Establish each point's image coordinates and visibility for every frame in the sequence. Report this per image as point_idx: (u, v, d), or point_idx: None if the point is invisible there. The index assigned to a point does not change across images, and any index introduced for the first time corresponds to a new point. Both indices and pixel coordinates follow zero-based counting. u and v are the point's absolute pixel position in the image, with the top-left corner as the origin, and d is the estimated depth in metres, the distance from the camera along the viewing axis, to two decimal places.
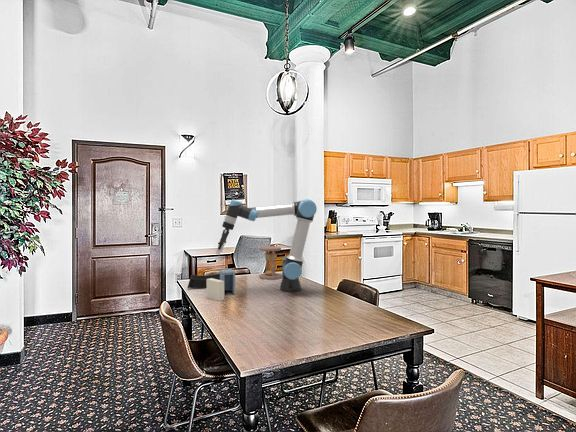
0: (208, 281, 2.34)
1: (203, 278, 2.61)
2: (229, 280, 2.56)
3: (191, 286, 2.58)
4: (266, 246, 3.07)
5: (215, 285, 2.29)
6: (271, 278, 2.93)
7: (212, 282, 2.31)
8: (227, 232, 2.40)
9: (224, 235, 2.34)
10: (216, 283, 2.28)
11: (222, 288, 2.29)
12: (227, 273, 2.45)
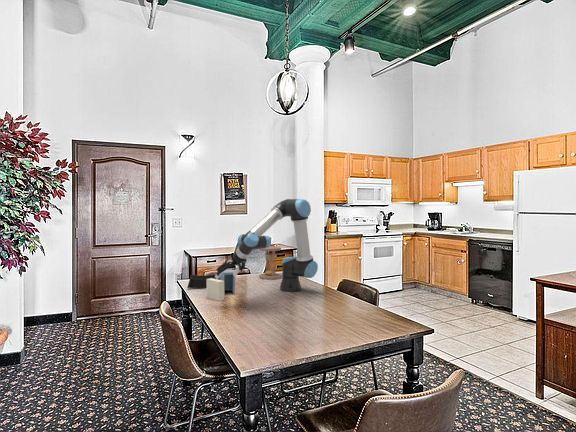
0: (208, 281, 2.34)
1: (203, 278, 2.61)
2: (229, 280, 2.56)
3: (191, 286, 2.58)
4: None
5: (215, 285, 2.29)
6: (271, 278, 2.93)
7: (212, 282, 2.31)
8: None
9: None
10: (216, 283, 2.28)
11: (222, 288, 2.29)
12: (227, 273, 2.45)
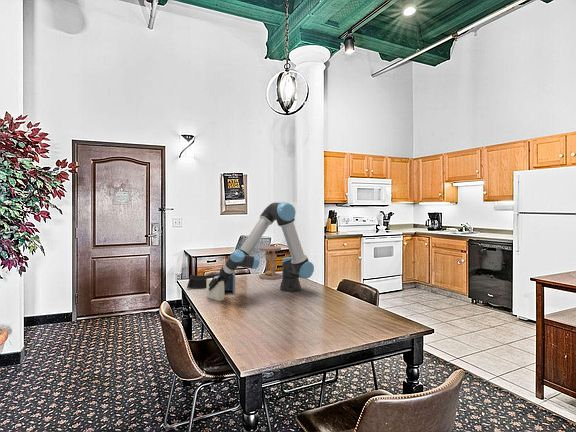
0: (208, 281, 2.34)
1: (203, 278, 2.61)
2: (229, 280, 2.56)
3: (191, 286, 2.58)
4: (266, 246, 3.07)
5: None
6: (271, 278, 2.93)
7: None
8: None
9: None
10: None
11: (222, 288, 2.29)
12: None
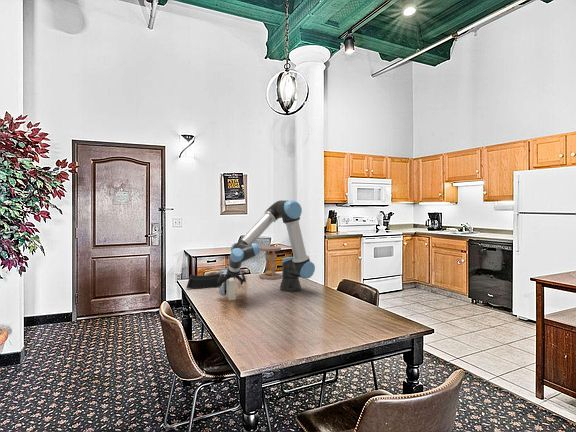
0: None
1: (202, 278, 2.61)
2: None
3: (190, 286, 2.58)
4: (266, 246, 3.07)
5: (228, 284, 2.33)
6: (271, 278, 2.93)
7: (227, 281, 2.35)
8: None
9: None
10: (228, 282, 2.31)
11: (233, 288, 2.30)
12: None
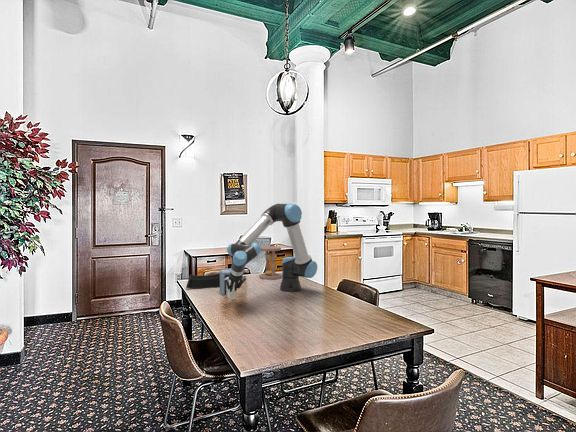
0: None
1: (202, 278, 2.61)
2: None
3: (190, 286, 2.57)
4: (266, 246, 3.07)
5: None
6: (271, 278, 2.93)
7: None
8: None
9: None
10: None
11: None
12: (227, 273, 2.45)
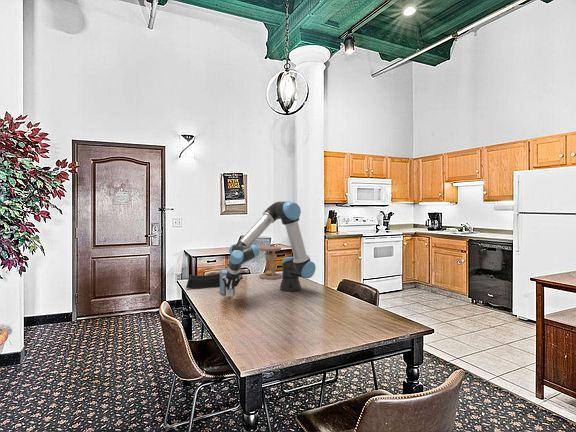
0: None
1: (202, 278, 2.61)
2: None
3: (190, 286, 2.57)
4: (266, 246, 3.07)
5: None
6: (271, 278, 2.93)
7: None
8: None
9: None
10: (226, 279, 2.40)
11: None
12: None
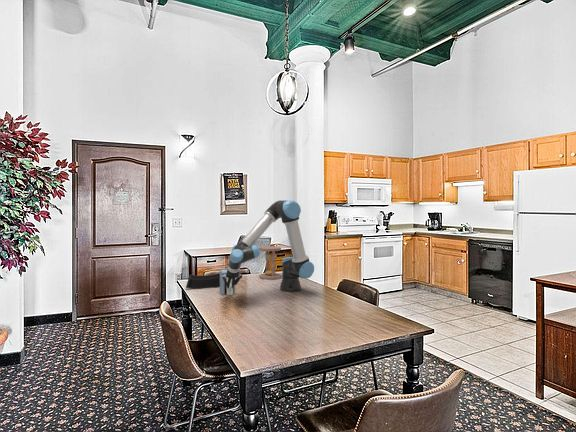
0: None
1: (201, 278, 2.61)
2: None
3: (189, 286, 2.57)
4: (266, 246, 3.07)
5: (226, 280, 2.46)
6: (271, 278, 2.93)
7: None
8: None
9: None
10: (226, 278, 2.44)
11: None
12: None
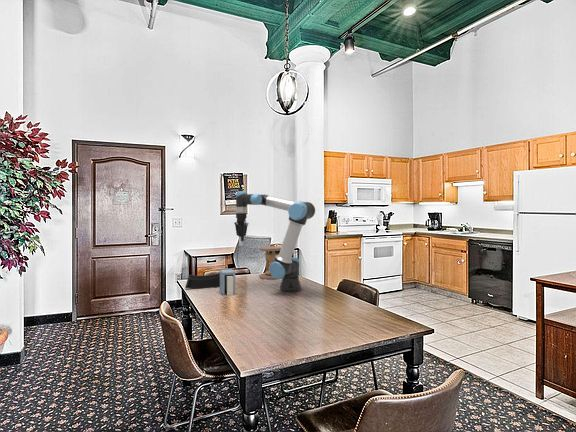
0: None
1: (201, 278, 2.60)
2: None
3: (189, 286, 2.57)
4: (266, 246, 3.07)
5: (226, 280, 2.46)
6: (271, 278, 2.93)
7: (225, 277, 2.48)
8: None
9: (246, 227, 2.60)
10: (226, 278, 2.44)
11: (231, 283, 2.43)
12: (227, 273, 2.45)
